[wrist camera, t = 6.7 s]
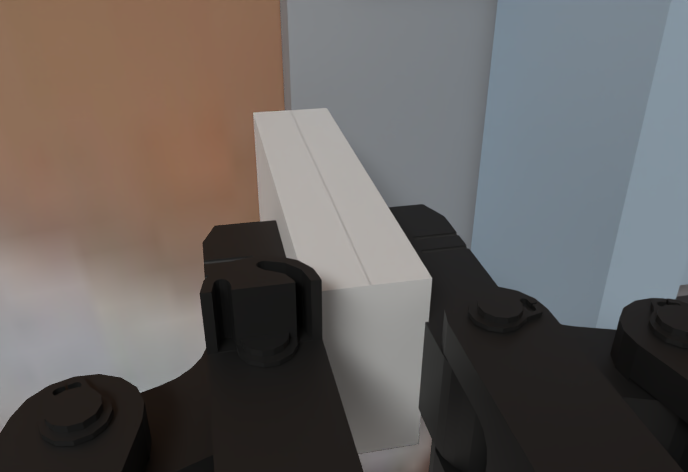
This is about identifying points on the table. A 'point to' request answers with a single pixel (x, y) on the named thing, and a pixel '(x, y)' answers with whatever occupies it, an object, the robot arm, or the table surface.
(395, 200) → the track
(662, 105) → the sled
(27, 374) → the table surface
